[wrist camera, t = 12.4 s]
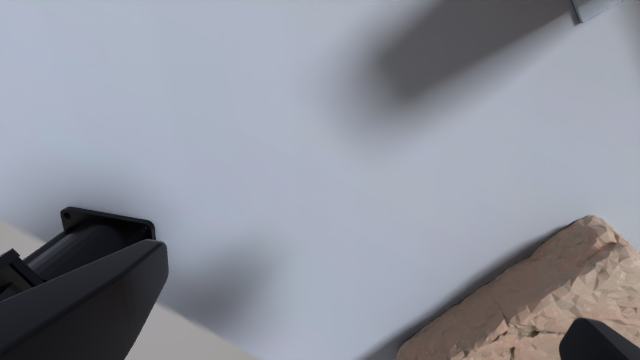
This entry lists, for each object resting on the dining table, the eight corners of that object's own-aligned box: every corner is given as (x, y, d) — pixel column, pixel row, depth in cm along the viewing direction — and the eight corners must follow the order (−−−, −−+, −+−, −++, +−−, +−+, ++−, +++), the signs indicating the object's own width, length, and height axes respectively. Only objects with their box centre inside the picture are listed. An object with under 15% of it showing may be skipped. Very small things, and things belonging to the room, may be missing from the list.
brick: (585, 204, 20) (643, 254, 16) (670, 282, 22) (744, 347, 17) (388, 342, 27) (392, 403, 22) (463, 395, 28) (481, 461, 24)
